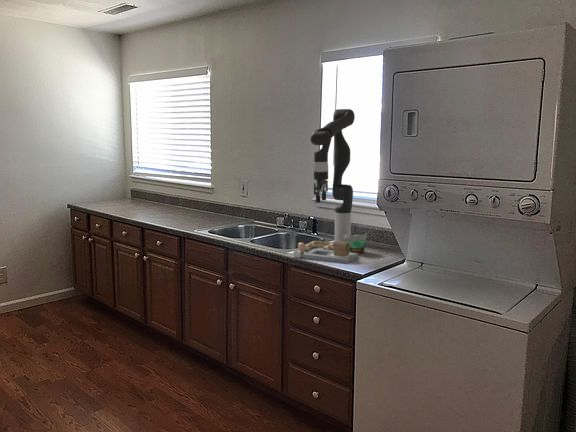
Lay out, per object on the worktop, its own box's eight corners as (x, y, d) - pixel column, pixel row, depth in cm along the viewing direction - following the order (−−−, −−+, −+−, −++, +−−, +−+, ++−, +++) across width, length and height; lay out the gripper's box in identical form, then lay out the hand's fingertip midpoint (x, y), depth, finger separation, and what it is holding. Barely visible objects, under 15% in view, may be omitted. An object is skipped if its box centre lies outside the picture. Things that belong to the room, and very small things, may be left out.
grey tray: (314, 252, 270) (314, 248, 270) (357, 257, 260) (357, 252, 260) (302, 258, 257) (302, 254, 257) (347, 263, 247) (347, 259, 246)
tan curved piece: (314, 245, 285) (314, 240, 285) (334, 248, 280) (334, 242, 280) (304, 251, 273) (304, 245, 273) (324, 253, 268) (324, 247, 267)
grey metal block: (294, 256, 262) (294, 249, 261) (301, 256, 262) (301, 249, 261) (293, 257, 259) (293, 251, 258) (300, 258, 258) (300, 251, 258)
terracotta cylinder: (299, 253, 267) (299, 242, 266) (304, 254, 266) (305, 242, 265) (297, 254, 264) (297, 243, 263) (302, 255, 263) (302, 244, 262)
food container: (348, 255, 264) (348, 236, 262) (344, 252, 270) (344, 233, 268) (370, 253, 267) (370, 235, 265) (365, 251, 273) (366, 232, 271)
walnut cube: (337, 252, 260) (338, 241, 259) (349, 254, 257) (349, 242, 256) (333, 255, 254) (333, 243, 253) (345, 256, 252) (345, 244, 251)
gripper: (319, 169, 273) (319, 199, 276) (309, 171, 260) (309, 202, 263) (332, 169, 270) (332, 199, 273) (322, 171, 257) (322, 203, 260)
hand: (321, 201), depth 268 cm, fingers open, 8 cm apart
